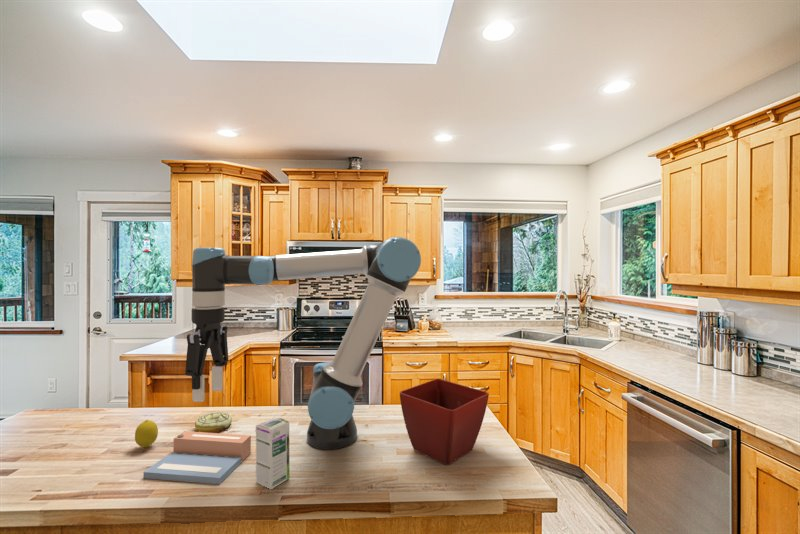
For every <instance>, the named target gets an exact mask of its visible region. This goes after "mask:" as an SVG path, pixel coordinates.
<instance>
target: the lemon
mask: <svg viewBox="0 0 800 534" xmlns="http://www.w3.org/2000/svg"><path fill="white" fill-rule="evenodd" d="M158 435H159V428H158V425H157V423H156V422H154V421H152V420H149V419H145V420H144V421H142V422H141V423H139V424H138V425H137V426H136V429H135V432H134V440H135V441H134V442H135V443H136V444H137V445H138V446H140V447H143V448H144V449H148V447H150V446H151V445H152V444H154V443H155V441H157V438H158Z"/></svg>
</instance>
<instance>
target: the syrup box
mask: <svg viewBox="0 0 800 534" xmlns="http://www.w3.org/2000/svg"><path fill="white" fill-rule="evenodd" d="M255 478H256V479H255V481H256V483H257V484H258V485H260V484H261V486H262V485H263V486H262V487H264V486H265V488H266V487H267V489H268V488H269V490H271V489H272V490H273V489H274V488H276V487H277V486H279V485H280V484H282V483H284V482H285V481H288V480H289V479H290V421H289V420H288V419H287V420H286V419H284V418H282V417H276V416H274V417H272V418H269V419H267V420H264V421H262V422H260V423H257V424H256V425H255Z"/></svg>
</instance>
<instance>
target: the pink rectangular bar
mask: <svg viewBox="0 0 800 534" xmlns="http://www.w3.org/2000/svg"><path fill="white" fill-rule="evenodd" d="M251 445H252V435H250V434H249V435H248V434H234V433H221V432H220V433H219V432H215V433H206V432H199V431H187V430H185V431H183V432H181V433H179V434H177V435H176V436H175V437H174V438H173V451H172V452H180V453H194V454H209V455H223V456H237V457H241V462H244V461H245V459H246V458H247V457H248V456H249V455H251V453H252V446H251Z"/></svg>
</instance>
